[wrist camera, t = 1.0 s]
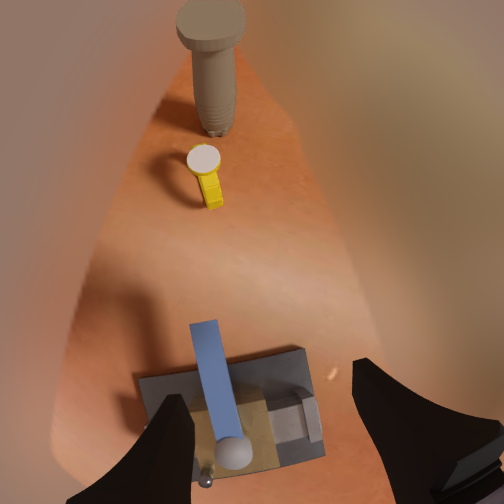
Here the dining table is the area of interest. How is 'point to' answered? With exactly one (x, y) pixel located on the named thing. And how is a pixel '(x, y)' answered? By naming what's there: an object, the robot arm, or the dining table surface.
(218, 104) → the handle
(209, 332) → the lever
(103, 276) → the dining table surface
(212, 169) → the watch
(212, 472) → the valve
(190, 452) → the robot arm
